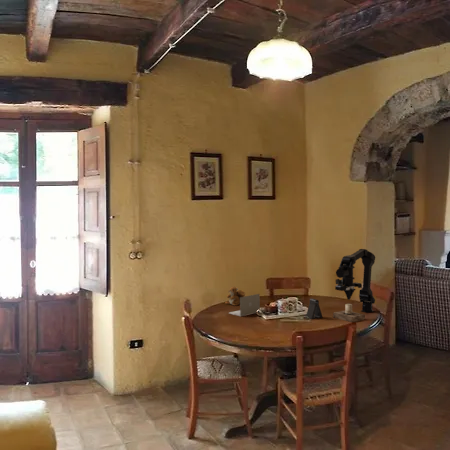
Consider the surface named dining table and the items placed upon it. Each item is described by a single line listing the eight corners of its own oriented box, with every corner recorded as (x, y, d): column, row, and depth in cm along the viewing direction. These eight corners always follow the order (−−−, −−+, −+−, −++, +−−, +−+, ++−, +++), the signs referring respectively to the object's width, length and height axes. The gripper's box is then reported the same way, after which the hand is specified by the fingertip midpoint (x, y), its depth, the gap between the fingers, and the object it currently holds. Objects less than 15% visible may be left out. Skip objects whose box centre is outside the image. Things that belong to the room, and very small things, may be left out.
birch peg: (348, 317, 319) (348, 303, 318) (353, 318, 315) (353, 304, 315) (343, 318, 316) (343, 304, 316) (348, 319, 313) (348, 305, 312)
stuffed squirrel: (224, 304, 366) (223, 286, 365) (239, 301, 374) (238, 284, 373) (232, 306, 358) (231, 288, 357) (247, 303, 366) (247, 286, 365)
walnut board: (346, 314, 326) (346, 310, 325) (364, 319, 312) (364, 314, 312) (333, 317, 319) (333, 312, 319) (351, 322, 306) (351, 317, 306)
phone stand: (311, 319, 315) (311, 300, 315) (305, 317, 321) (305, 299, 320) (322, 317, 319) (322, 299, 319) (317, 315, 325) (316, 297, 324)
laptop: (247, 309, 347) (247, 291, 346) (260, 312, 338) (259, 293, 337) (228, 313, 335) (227, 294, 335) (240, 316, 326) (240, 297, 325)
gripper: (349, 272, 327) (349, 295, 328) (328, 275, 317) (329, 299, 318) (362, 274, 318) (362, 298, 319) (341, 277, 308) (341, 302, 309)
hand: (348, 299), depth 316 cm, fingers closed
